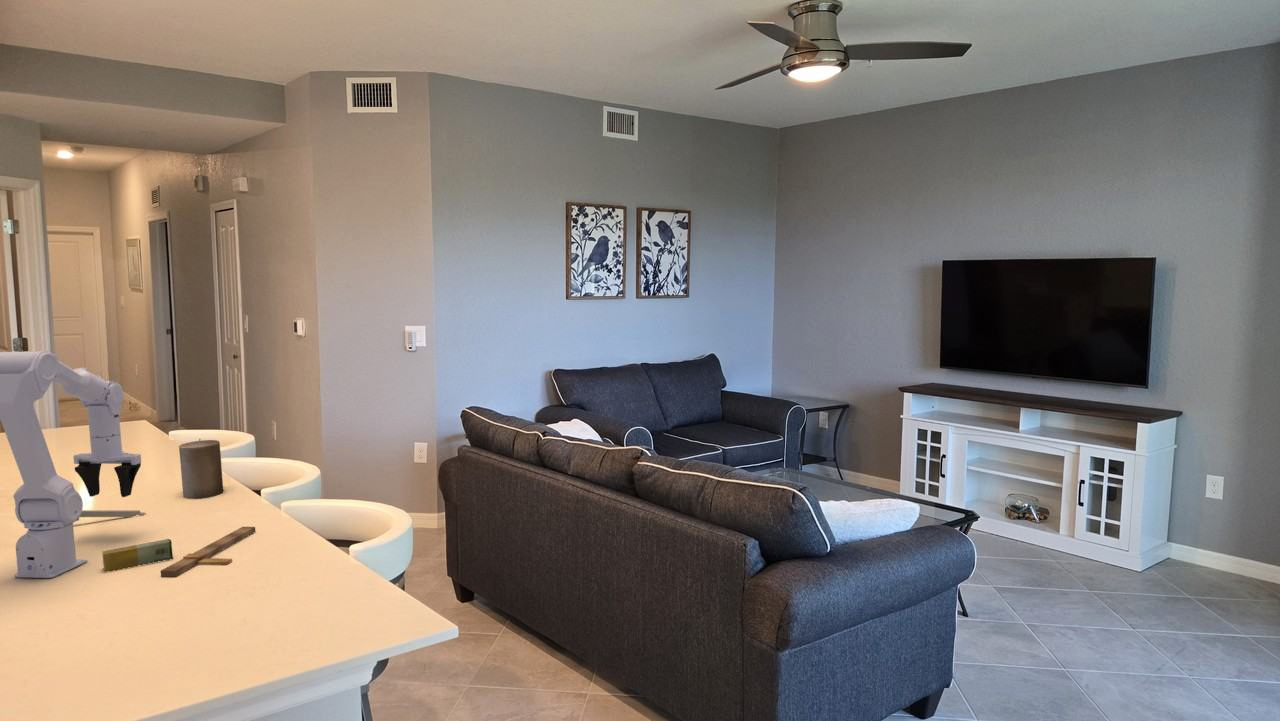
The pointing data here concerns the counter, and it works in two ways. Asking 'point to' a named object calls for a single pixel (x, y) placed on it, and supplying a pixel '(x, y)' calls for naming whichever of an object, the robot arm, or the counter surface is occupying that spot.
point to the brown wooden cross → (207, 553)
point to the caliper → (110, 513)
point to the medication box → (137, 555)
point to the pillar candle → (201, 468)
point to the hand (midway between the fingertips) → (110, 495)
